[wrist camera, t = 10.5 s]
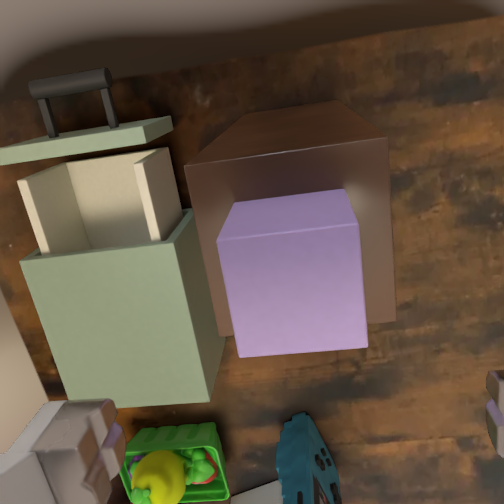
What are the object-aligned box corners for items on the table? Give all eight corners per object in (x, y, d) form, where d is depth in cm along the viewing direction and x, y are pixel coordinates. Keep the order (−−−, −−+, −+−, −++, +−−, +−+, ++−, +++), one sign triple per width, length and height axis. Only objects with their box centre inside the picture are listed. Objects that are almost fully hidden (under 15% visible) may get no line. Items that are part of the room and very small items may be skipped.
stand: (257, 203, 43) (218, 337, 21) (243, 113, 40) (183, 165, 19) (345, 192, 42) (397, 321, 20) (338, 99, 39) (387, 136, 17)
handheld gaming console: (342, 470, 53) (357, 612, 40) (308, 479, 54) (312, 620, 40) (309, 406, 51) (314, 535, 37) (275, 417, 51) (267, 546, 38)
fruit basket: (145, 470, 56) (110, 562, 46) (124, 412, 53) (82, 495, 43) (237, 463, 54) (222, 556, 44) (220, 401, 51) (200, 487, 41)
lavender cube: (250, 300, 20) (238, 359, 16) (233, 202, 19) (215, 239, 15) (353, 290, 20) (368, 348, 16) (344, 187, 18) (359, 222, 14)
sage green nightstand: (73, 223, 45) (18, 261, 36) (198, 207, 43) (173, 242, 34) (112, 350, 50) (72, 411, 41) (226, 340, 48) (210, 402, 40)
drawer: (32, 84, 40) (-27, 87, 32) (159, 61, 38) (127, 60, 31) (89, 273, 46) (50, 311, 39) (201, 260, 44) (182, 298, 37)
